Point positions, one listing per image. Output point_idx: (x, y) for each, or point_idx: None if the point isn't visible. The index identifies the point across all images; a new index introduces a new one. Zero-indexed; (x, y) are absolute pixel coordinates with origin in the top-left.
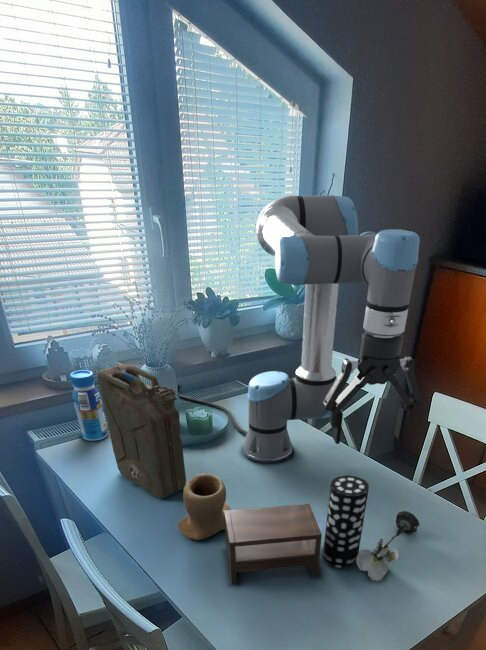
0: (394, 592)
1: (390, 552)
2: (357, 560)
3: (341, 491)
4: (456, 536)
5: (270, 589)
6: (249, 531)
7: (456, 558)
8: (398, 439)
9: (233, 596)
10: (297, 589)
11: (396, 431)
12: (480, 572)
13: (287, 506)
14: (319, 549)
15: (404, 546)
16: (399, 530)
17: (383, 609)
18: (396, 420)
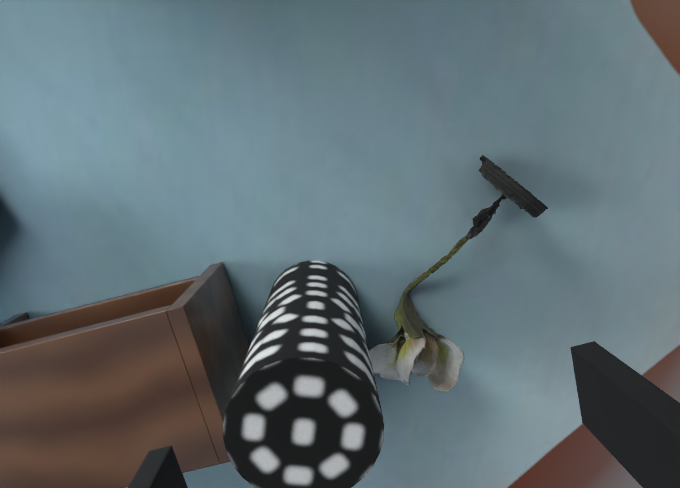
0: (435, 410)
1: (442, 341)
2: None
3: (269, 477)
4: (640, 182)
5: None
6: (13, 471)
7: (611, 277)
8: (585, 425)
9: None
10: None
11: (595, 397)
12: (653, 323)
13: (108, 331)
14: None
15: (487, 242)
16: (483, 217)
17: (405, 461)
18: (636, 403)
